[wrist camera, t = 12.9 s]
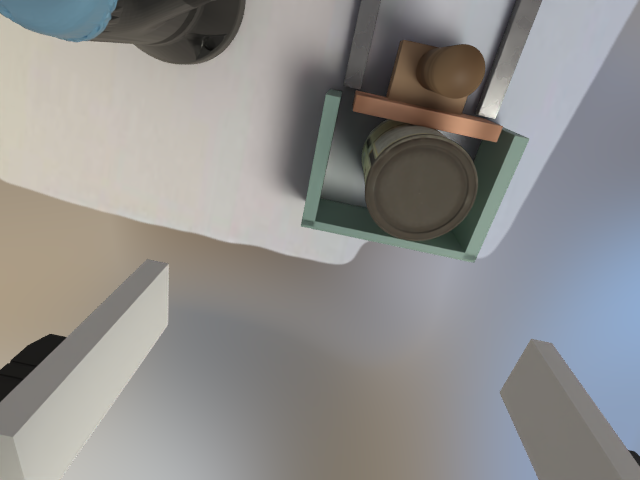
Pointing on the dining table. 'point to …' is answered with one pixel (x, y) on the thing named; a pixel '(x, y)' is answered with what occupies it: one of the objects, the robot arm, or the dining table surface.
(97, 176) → the dining table surface
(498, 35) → the dining table surface
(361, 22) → the track
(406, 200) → the coffee can
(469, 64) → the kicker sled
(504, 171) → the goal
